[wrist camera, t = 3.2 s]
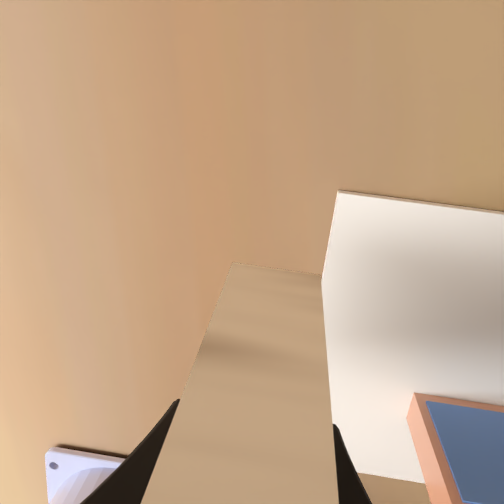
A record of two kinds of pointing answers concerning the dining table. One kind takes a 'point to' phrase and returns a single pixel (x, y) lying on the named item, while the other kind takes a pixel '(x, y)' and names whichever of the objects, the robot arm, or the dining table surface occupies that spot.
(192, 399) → the tall beige block
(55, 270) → the dining table surface
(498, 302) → the mat
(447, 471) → the tile
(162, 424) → the robot arm
